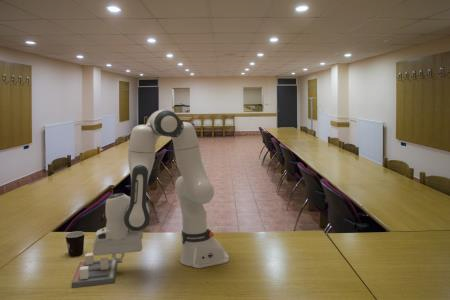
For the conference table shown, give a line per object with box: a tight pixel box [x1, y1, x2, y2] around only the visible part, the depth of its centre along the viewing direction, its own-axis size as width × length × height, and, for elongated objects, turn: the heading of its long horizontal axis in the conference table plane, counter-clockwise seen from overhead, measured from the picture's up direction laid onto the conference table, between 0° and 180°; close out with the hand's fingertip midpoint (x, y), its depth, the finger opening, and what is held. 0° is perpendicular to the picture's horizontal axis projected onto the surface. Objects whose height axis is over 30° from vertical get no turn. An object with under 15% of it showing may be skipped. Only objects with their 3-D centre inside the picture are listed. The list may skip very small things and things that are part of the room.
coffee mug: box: [64, 230, 85, 258], centre depth 175 cm, size 12×9×10 cm
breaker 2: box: [84, 252, 95, 265], centre depth 160 cm, size 3×3×4 cm
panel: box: [71, 258, 118, 289], centre depth 155 cm, size 16×20×2 cm
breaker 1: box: [80, 266, 89, 279], centre depth 147 cm, size 3×3×4 cm
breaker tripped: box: [99, 257, 109, 270], centre depth 155 cm, size 3×3×4 cm
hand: (118, 262), depth 156 cm, fingers closed
